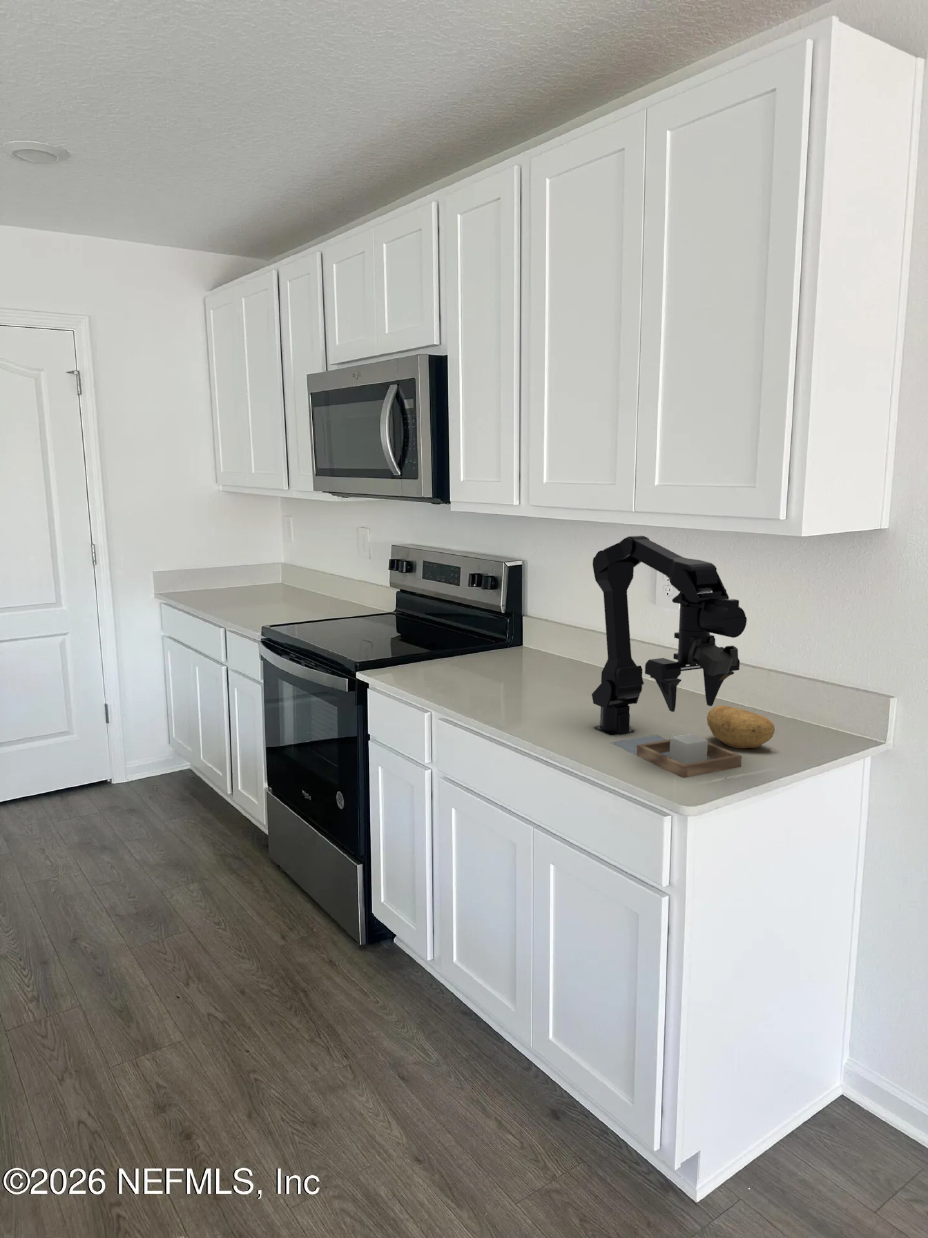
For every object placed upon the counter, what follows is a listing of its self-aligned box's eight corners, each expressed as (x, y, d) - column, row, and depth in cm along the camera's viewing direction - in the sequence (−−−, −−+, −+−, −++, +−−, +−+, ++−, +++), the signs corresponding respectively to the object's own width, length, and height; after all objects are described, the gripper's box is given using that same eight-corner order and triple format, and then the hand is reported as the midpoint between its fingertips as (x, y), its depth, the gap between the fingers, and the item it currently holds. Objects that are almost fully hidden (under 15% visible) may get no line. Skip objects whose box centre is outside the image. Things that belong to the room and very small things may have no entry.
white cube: (669, 761, 170) (670, 736, 169) (689, 757, 172) (690, 733, 171) (686, 769, 165) (687, 744, 165) (706, 765, 168) (707, 740, 167)
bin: (636, 757, 172) (637, 745, 171) (692, 747, 178) (692, 735, 177) (682, 779, 159) (683, 766, 159) (740, 768, 165) (741, 756, 165)
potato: (758, 760, 170) (761, 721, 168) (696, 744, 180) (698, 707, 179) (783, 750, 176) (785, 712, 175) (721, 734, 187) (723, 698, 185)
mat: (610, 744, 180) (610, 742, 180) (656, 736, 185) (656, 734, 185) (645, 761, 169) (646, 759, 169) (694, 753, 174) (694, 751, 174)
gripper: (683, 640, 153) (680, 725, 155) (763, 631, 161) (758, 713, 163) (644, 630, 163) (641, 710, 165) (721, 622, 171) (717, 699, 173)
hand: (691, 708), depth 167 cm, fingers open, 9 cm apart
